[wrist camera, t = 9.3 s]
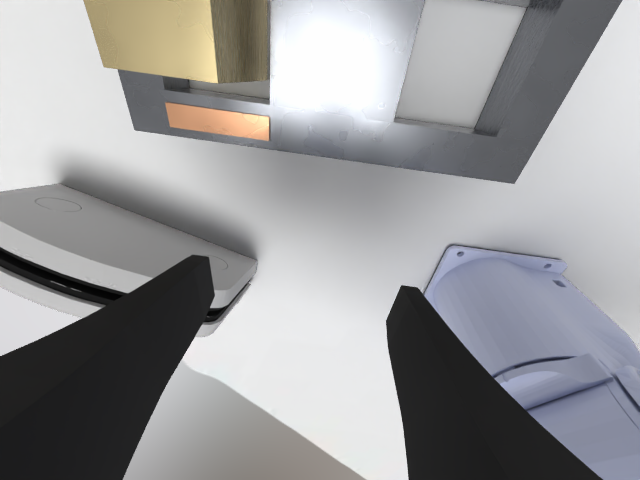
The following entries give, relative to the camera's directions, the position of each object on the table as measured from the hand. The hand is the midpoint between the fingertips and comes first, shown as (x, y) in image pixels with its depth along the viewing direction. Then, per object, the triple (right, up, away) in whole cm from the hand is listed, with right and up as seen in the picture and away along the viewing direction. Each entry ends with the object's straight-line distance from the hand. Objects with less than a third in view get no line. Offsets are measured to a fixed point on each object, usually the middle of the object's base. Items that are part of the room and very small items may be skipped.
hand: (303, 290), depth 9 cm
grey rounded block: (-13, +3, +12) cm, 18 cm away
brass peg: (-4, +13, +4) cm, 14 cm away
